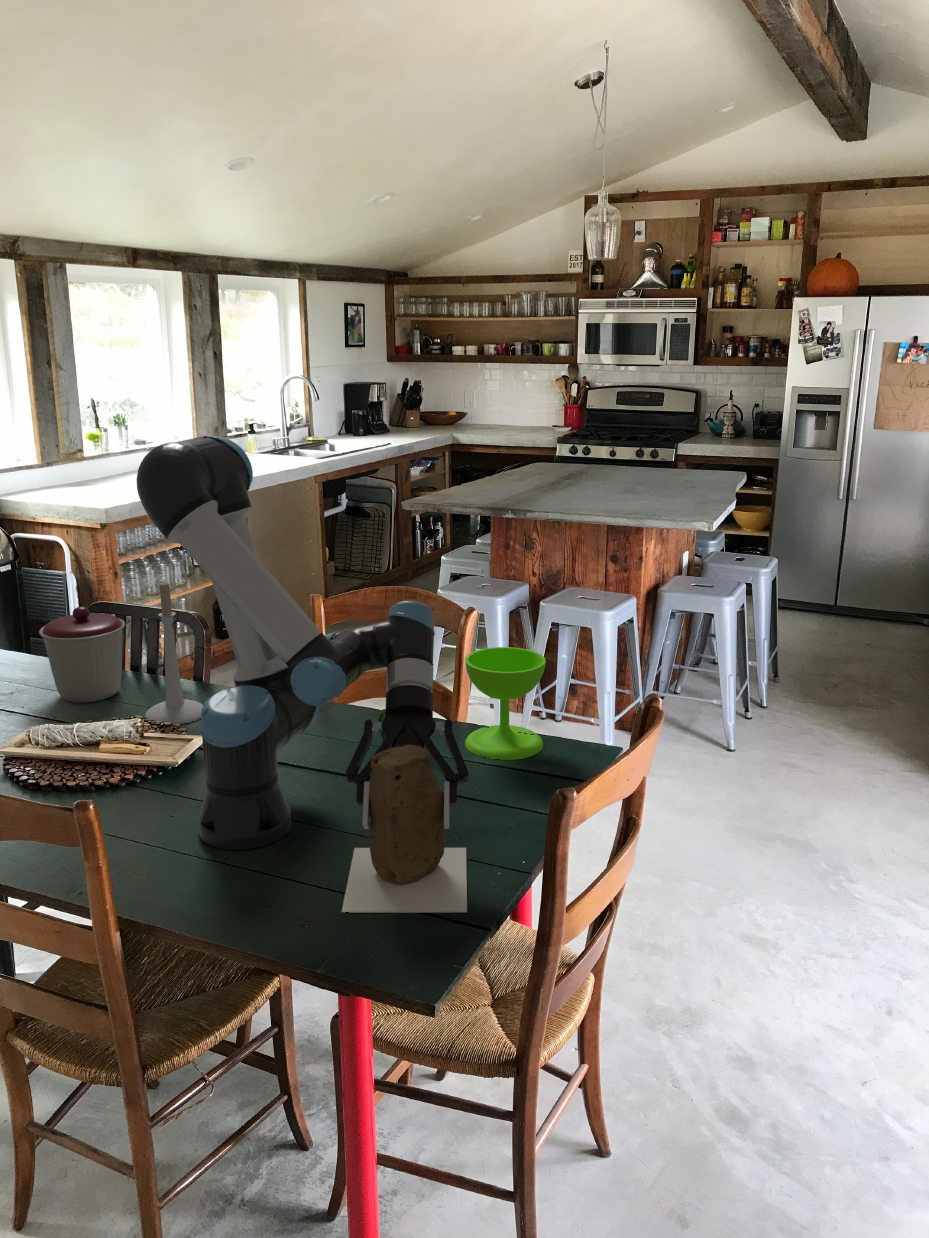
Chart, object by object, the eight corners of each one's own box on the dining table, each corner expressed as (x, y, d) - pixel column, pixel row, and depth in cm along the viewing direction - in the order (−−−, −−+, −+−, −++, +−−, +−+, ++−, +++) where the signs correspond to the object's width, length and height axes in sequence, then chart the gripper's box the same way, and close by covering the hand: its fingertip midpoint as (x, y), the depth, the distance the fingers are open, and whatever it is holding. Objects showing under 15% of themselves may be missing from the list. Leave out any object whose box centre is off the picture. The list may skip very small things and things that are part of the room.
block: (387, 891, 144) (385, 768, 139) (366, 868, 150) (362, 749, 145) (451, 872, 150) (451, 752, 144) (427, 850, 156) (426, 735, 150)
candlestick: (133, 723, 208) (119, 587, 199) (164, 702, 220) (152, 572, 211) (188, 728, 205) (176, 590, 197) (216, 706, 217) (206, 575, 209)
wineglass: (492, 722, 208) (493, 642, 203) (558, 739, 199) (560, 656, 194) (449, 747, 195) (448, 662, 190) (517, 767, 187) (518, 678, 182)
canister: (140, 680, 233) (132, 596, 227) (119, 708, 216) (109, 617, 210) (63, 682, 232) (52, 597, 226) (36, 710, 214) (23, 619, 209)
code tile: (341, 912, 140) (341, 911, 139) (354, 849, 157) (354, 847, 157) (466, 912, 140) (466, 910, 140) (466, 848, 157) (466, 847, 157)
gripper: (483, 701, 159) (485, 833, 148) (337, 702, 159) (329, 833, 148) (484, 682, 152) (486, 818, 142) (332, 682, 152) (323, 818, 142)
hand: (406, 826), depth 145 cm, fingers closed on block, 11 cm apart
